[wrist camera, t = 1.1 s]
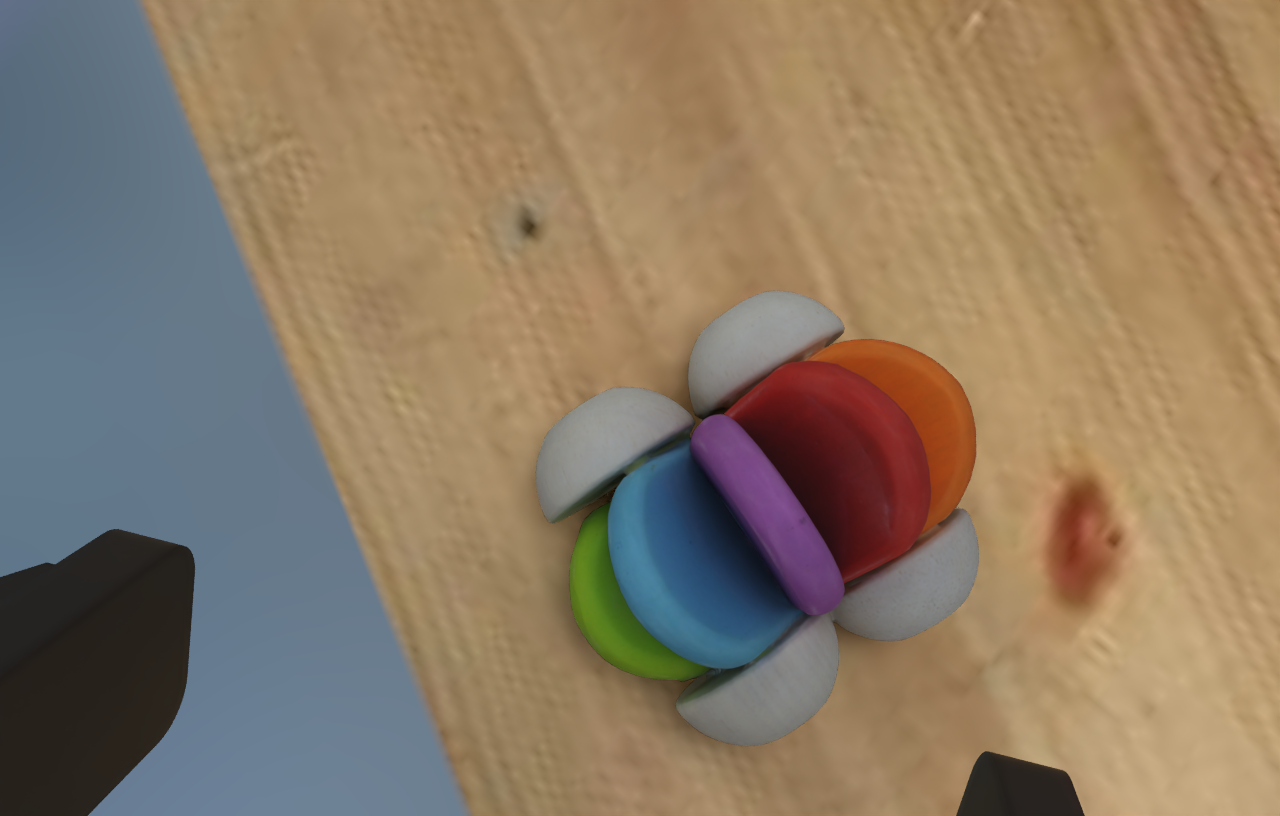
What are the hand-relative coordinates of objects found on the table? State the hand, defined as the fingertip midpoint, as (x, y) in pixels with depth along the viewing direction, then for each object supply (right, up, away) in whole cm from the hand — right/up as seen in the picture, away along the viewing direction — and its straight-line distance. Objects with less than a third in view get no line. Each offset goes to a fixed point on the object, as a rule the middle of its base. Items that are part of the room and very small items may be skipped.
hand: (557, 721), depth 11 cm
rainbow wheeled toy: (+3, 0, +16) cm, 17 cm away
